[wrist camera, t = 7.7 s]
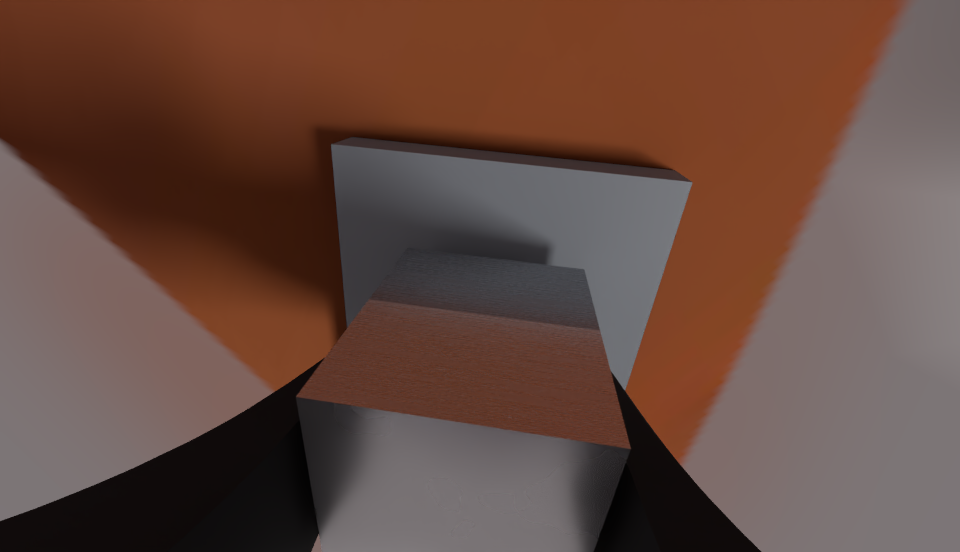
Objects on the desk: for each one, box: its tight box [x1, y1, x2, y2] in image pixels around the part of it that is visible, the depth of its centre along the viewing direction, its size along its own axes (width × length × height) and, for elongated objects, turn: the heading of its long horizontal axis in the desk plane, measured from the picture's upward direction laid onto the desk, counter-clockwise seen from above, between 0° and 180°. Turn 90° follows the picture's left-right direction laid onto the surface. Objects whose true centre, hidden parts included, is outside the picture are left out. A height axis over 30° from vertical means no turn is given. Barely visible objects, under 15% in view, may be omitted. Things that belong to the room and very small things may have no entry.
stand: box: [331, 137, 692, 390], centre depth 14 cm, size 10×10×2 cm
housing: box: [296, 248, 631, 552], centre depth 10 cm, size 5×5×6 cm
